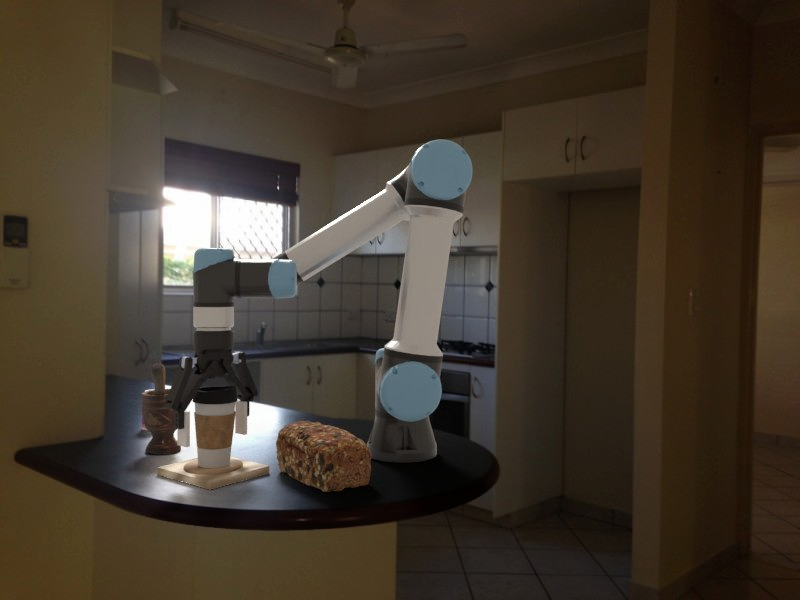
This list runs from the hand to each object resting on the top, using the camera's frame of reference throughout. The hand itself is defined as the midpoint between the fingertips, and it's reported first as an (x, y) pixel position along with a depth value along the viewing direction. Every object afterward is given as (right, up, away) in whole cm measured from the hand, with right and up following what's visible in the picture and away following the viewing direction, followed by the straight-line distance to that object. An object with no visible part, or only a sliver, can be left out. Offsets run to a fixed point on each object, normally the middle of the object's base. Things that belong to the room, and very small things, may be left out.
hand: (213, 439), depth 133 cm
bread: (+21, -7, -2) cm, 22 cm away
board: (0, -7, 0) cm, 7 cm away
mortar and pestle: (-15, -6, +17) cm, 23 cm away
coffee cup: (0, -5, 0) cm, 5 cm away
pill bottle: (-26, -6, +41) cm, 50 cm away
